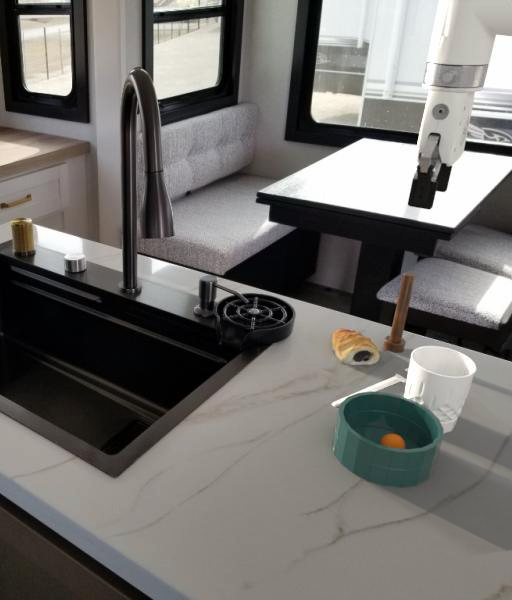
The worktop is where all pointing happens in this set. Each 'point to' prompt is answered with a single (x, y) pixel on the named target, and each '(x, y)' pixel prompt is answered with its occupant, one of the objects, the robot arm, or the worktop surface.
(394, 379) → the fork
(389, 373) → the worktop surface
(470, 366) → the white cup
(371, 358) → the pastry
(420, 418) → the bowl
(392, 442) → the ball
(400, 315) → the brown wooden pestle
